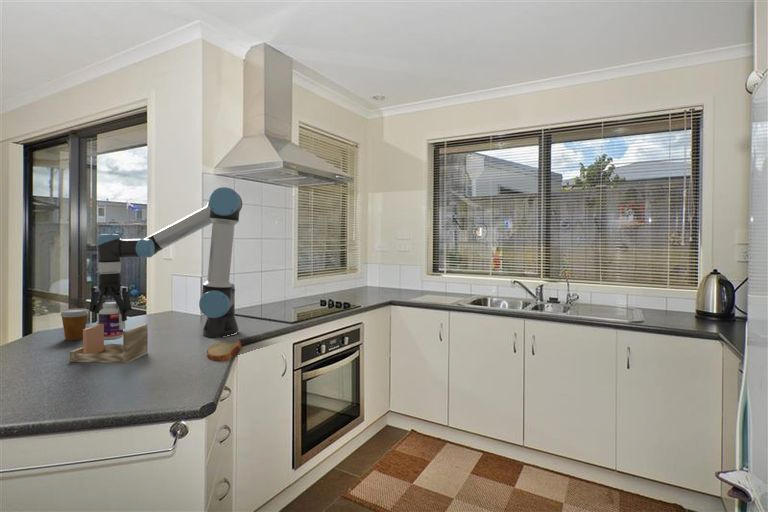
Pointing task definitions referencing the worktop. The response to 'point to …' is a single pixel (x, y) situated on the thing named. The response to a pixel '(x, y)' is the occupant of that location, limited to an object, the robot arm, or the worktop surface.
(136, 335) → the lane
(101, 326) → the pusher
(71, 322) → the disposable coffee cup
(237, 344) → the slice of bread
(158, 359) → the worktop surface
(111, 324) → the pill bottle
